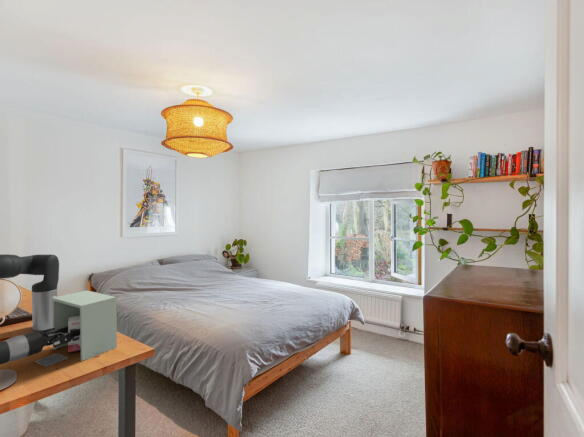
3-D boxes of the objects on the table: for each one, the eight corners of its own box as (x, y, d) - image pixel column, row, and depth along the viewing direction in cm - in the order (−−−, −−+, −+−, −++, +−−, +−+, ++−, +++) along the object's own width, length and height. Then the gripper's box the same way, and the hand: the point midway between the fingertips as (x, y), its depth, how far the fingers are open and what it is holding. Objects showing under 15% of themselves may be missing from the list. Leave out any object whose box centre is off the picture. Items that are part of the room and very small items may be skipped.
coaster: (35, 362, 115) (35, 360, 115) (57, 354, 121) (57, 353, 121) (45, 366, 112) (45, 365, 112) (67, 358, 118) (67, 357, 118)
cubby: (53, 348, 126) (52, 297, 125) (87, 337, 137) (86, 290, 136) (82, 361, 116) (81, 305, 115) (116, 347, 127) (116, 297, 127)
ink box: (67, 352, 120) (67, 321, 120) (68, 347, 124) (68, 317, 124) (94, 347, 125) (94, 317, 124) (94, 342, 129) (94, 313, 129)
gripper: (32, 340, 105) (86, 323, 120) (12, 331, 112) (65, 317, 127) (32, 362, 105) (86, 343, 120) (12, 352, 112) (65, 335, 127)
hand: (75, 330), depth 123 cm, fingers closed on ink box, 6 cm apart
